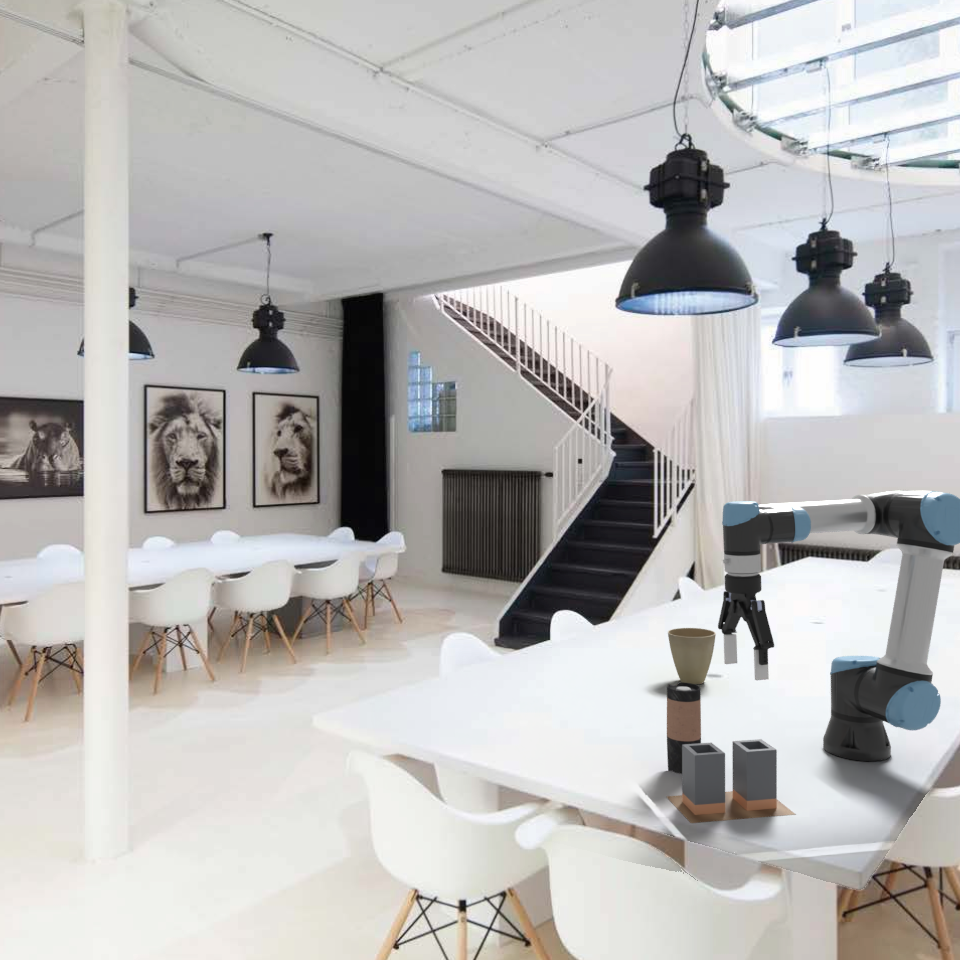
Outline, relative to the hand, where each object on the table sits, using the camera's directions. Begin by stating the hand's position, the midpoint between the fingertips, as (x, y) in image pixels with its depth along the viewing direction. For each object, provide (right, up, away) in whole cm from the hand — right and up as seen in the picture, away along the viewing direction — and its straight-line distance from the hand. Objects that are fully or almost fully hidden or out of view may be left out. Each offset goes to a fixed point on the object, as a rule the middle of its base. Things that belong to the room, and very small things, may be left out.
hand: (745, 671), depth 182 cm
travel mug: (-11, -26, +11) cm, 30 cm away
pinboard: (-6, -26, -9) cm, 29 cm away
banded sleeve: (-12, -25, -10) cm, 30 cm away
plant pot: (+11, -24, +88) cm, 92 cm away
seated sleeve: (-1, -25, -9) cm, 27 cm away
